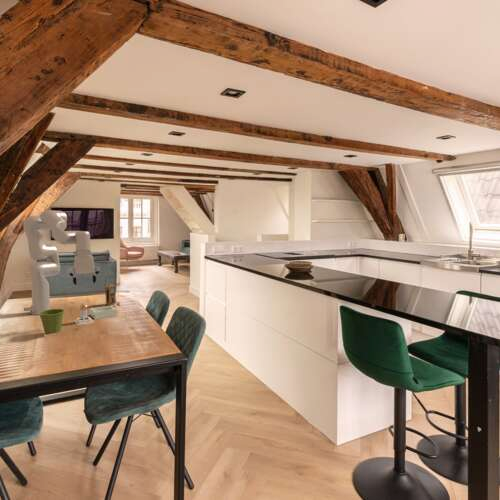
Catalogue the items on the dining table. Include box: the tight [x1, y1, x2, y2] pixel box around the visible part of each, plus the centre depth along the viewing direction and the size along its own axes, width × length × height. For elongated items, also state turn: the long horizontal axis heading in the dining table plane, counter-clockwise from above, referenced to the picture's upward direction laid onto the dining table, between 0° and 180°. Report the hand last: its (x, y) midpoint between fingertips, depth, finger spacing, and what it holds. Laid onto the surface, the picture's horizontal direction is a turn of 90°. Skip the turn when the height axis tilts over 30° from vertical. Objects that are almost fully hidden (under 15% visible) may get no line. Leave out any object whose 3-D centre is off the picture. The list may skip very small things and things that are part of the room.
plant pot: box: [38, 308, 66, 336], centre depth 185 cm, size 12×12×11 cm
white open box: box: [89, 305, 117, 320], centre depth 216 cm, size 12×12×5 cm
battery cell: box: [79, 303, 89, 320], centre depth 203 cm, size 4×4×10 cm
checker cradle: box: [73, 316, 95, 326], centre depth 203 cm, size 9×9×2 cm
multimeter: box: [104, 274, 121, 308], centre depth 247 cm, size 15×10×20 cm
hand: (84, 283), depth 204 cm, fingers open, 9 cm apart
